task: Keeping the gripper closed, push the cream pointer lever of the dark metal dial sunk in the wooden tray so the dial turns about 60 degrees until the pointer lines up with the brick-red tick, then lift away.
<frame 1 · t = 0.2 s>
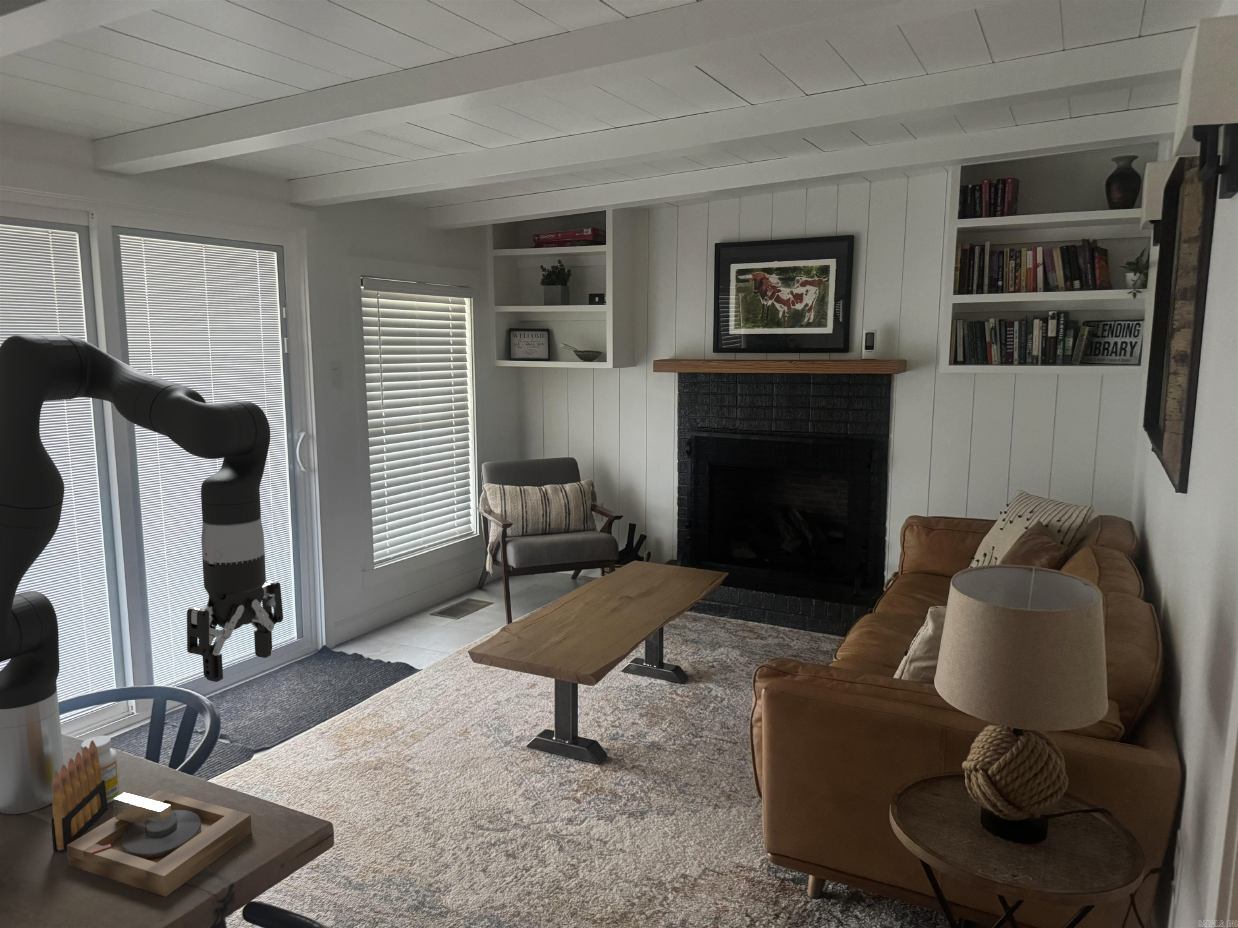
hand: (239, 667, 111), 29 cm above the table, tool pointing down, fingers open, 8 cm apart
supplement bottle: (101, 799, 130), on the table
ammunition clip: (81, 830, 122), on the table
dial: (153, 819, 118), point 4 cm above the table, hinge at 0.0°
wooden tray: (163, 848, 118), on the table
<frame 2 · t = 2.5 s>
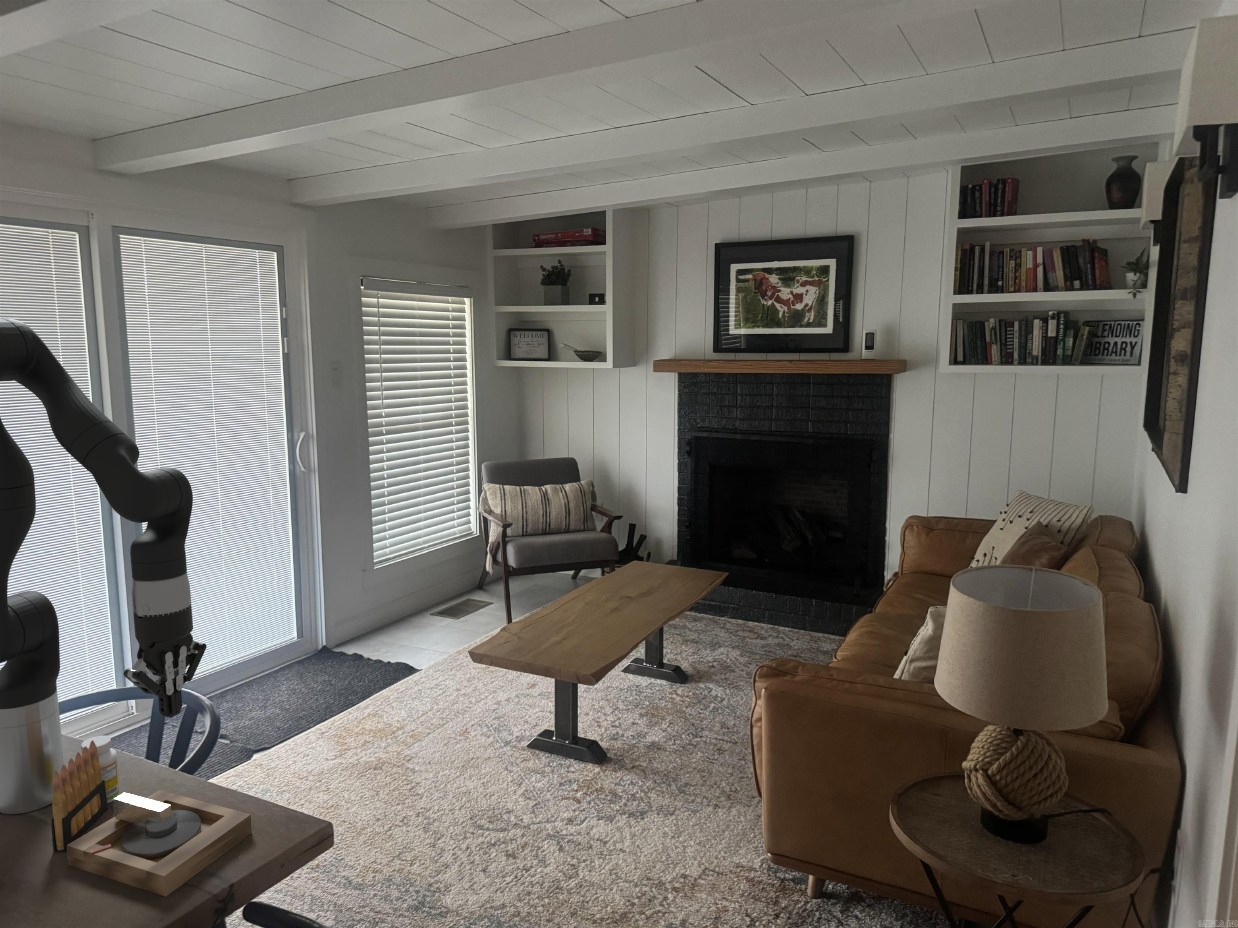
hand: (171, 714, 123), 17 cm above the table, tool pointing down, fingers closed
nothing on the table moved.
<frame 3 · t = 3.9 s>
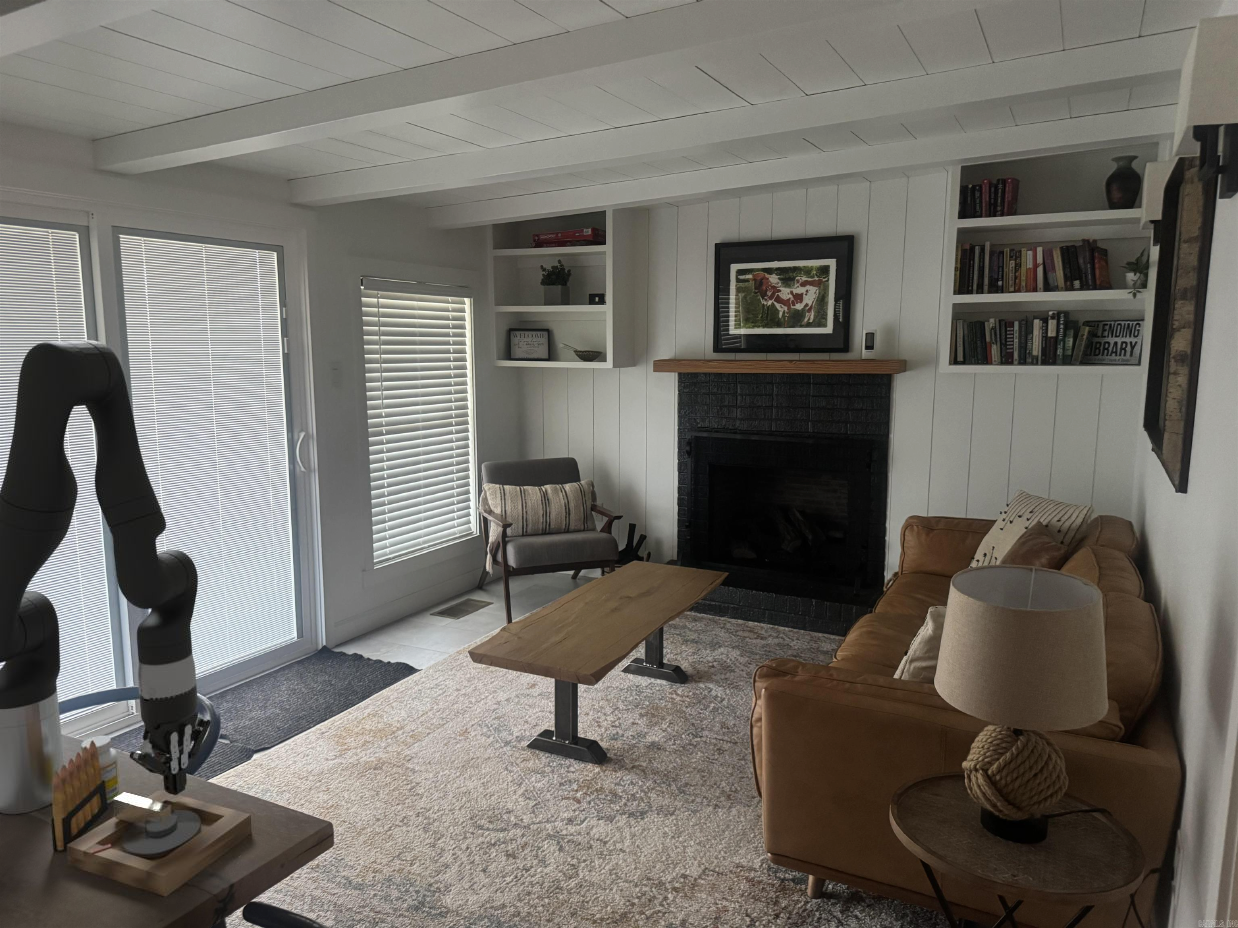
hand: (175, 791, 124), 4 cm above the table, tool pointing down, fingers closed
nothing on the table moved.
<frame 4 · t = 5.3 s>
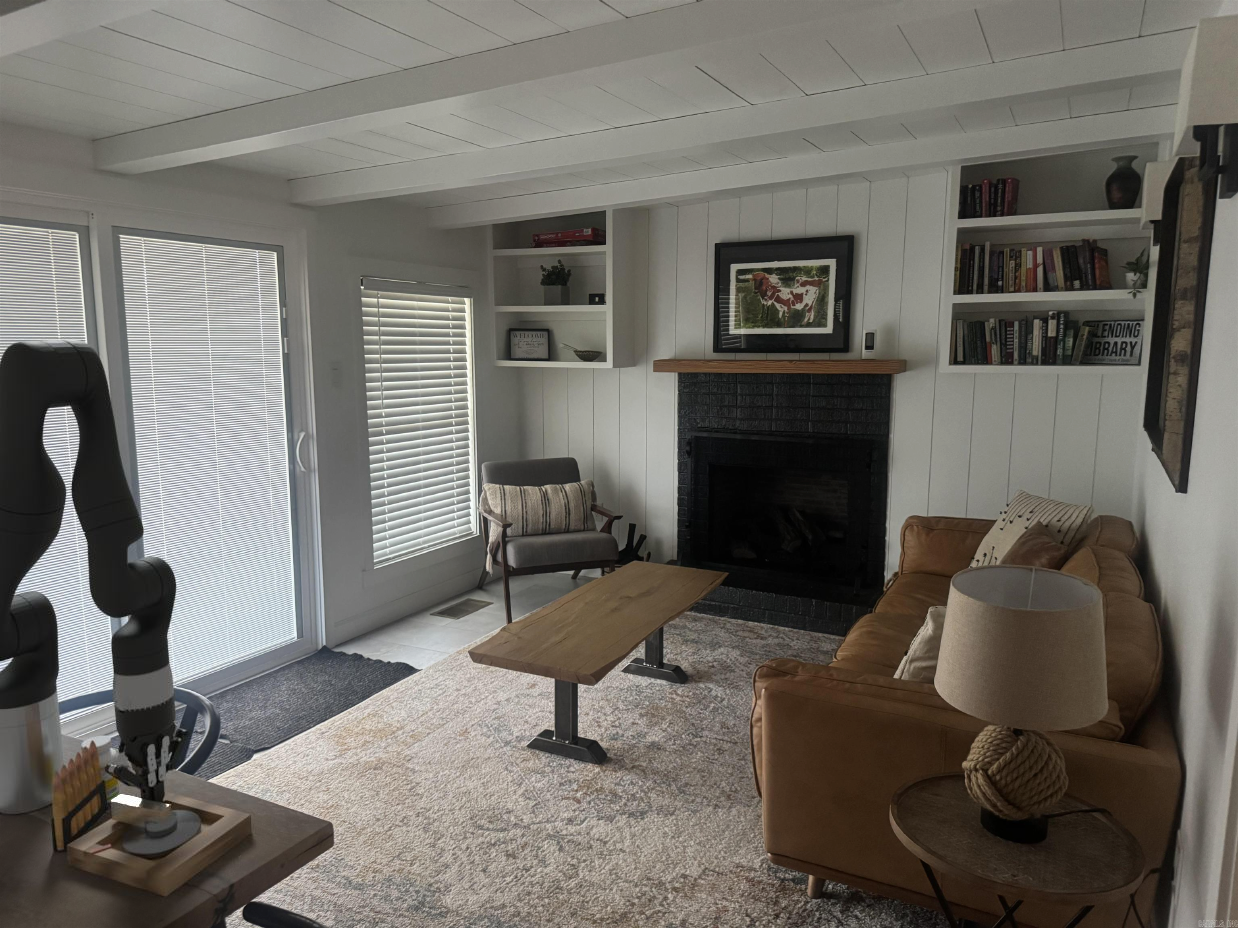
hand: (153, 804, 121), 4 cm above the table, tool pointing down, fingers closed
dial: (152, 820, 118), point 4 cm above the table, hinge at 3.7°, touching gripper
everything else where it was.
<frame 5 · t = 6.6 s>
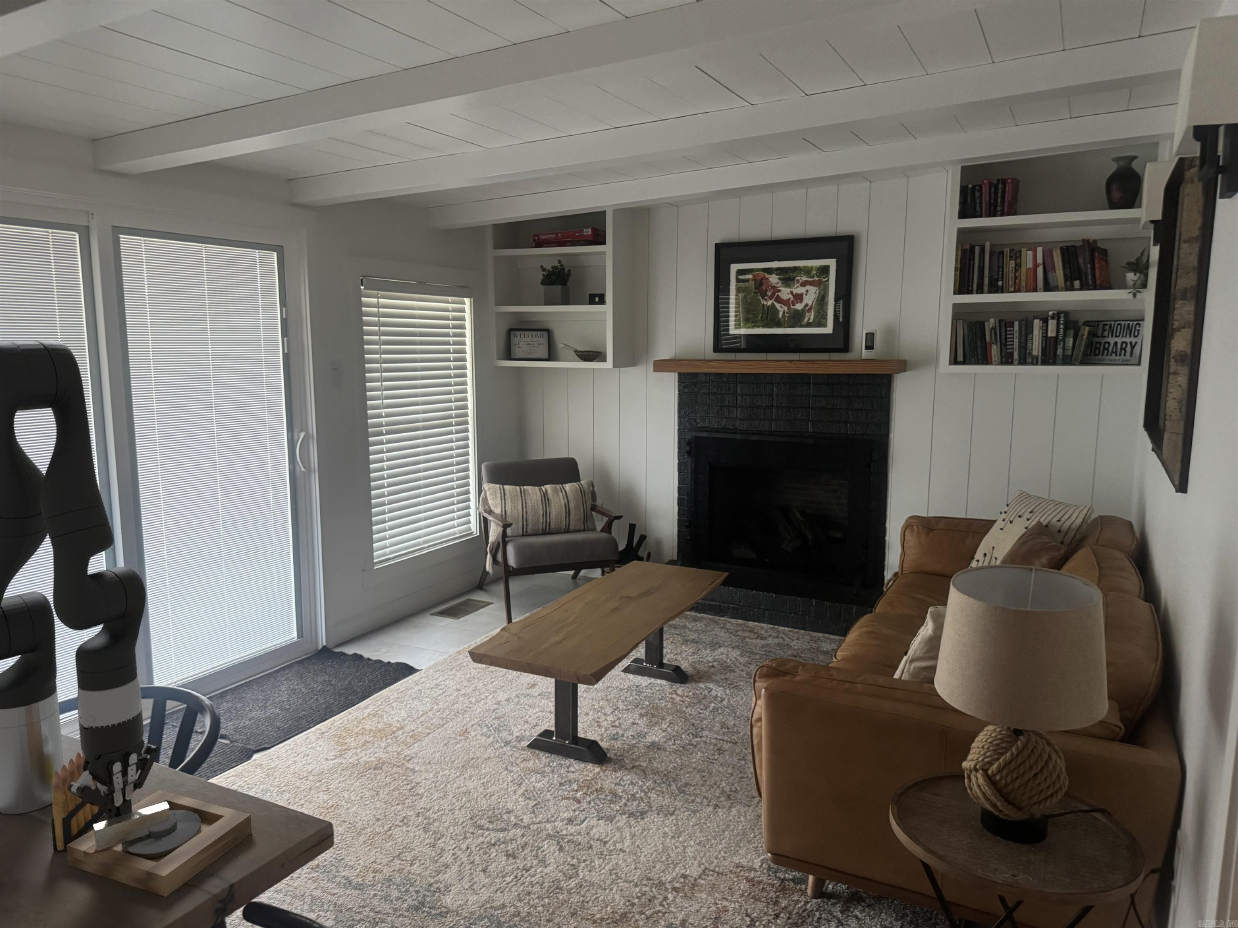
hand: (120, 824, 116), 4 cm above the table, tool pointing down, fingers closed
dial: (149, 825, 116), point 4 cm above the table, hinge at 59.9°, touching gripper
everything else where it was.
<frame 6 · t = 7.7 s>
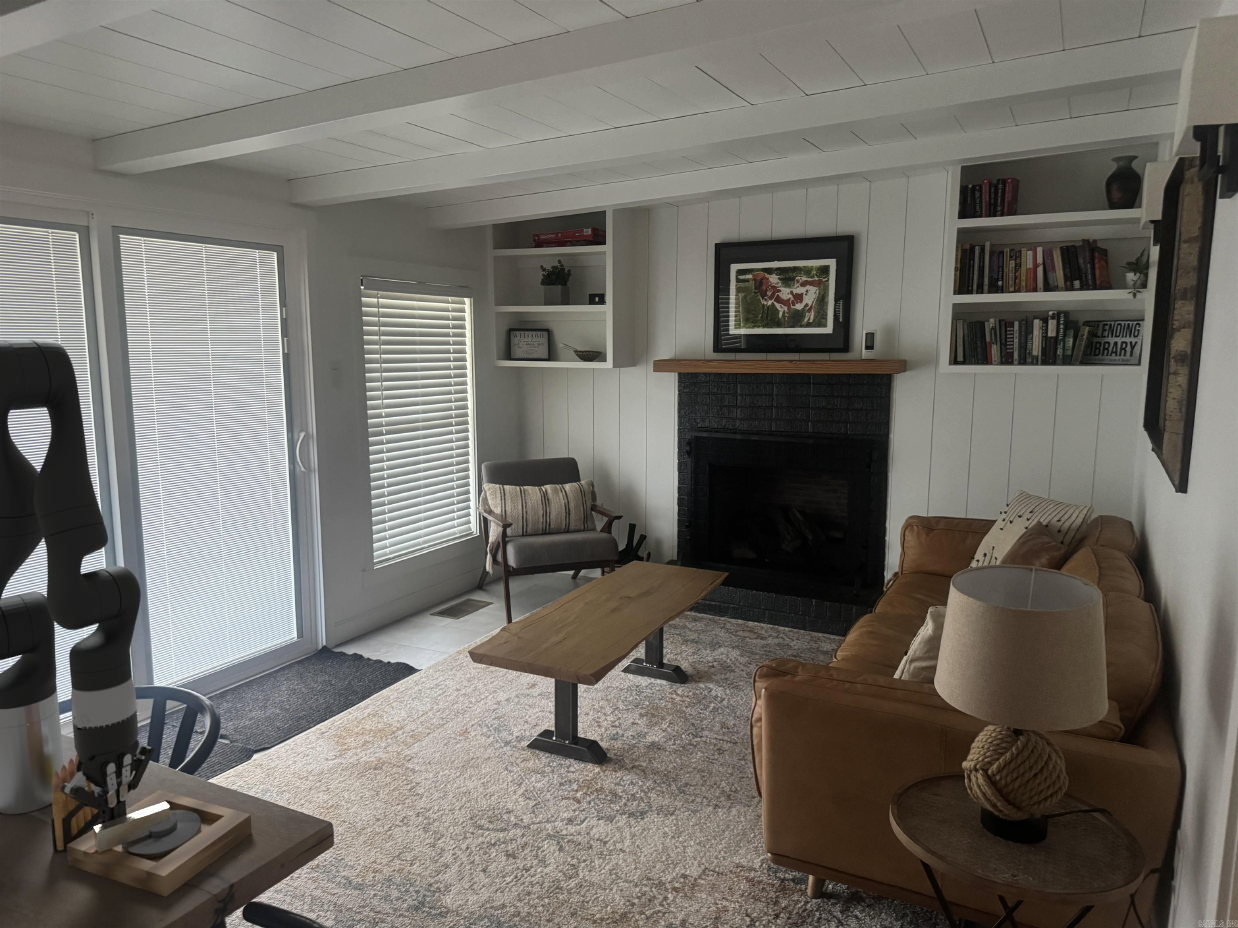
hand: (114, 825, 115), 5 cm above the table, tool pointing down, fingers closed
dial: (149, 826, 116), point 4 cm above the table, hinge at 63.7°
everything else where it was.
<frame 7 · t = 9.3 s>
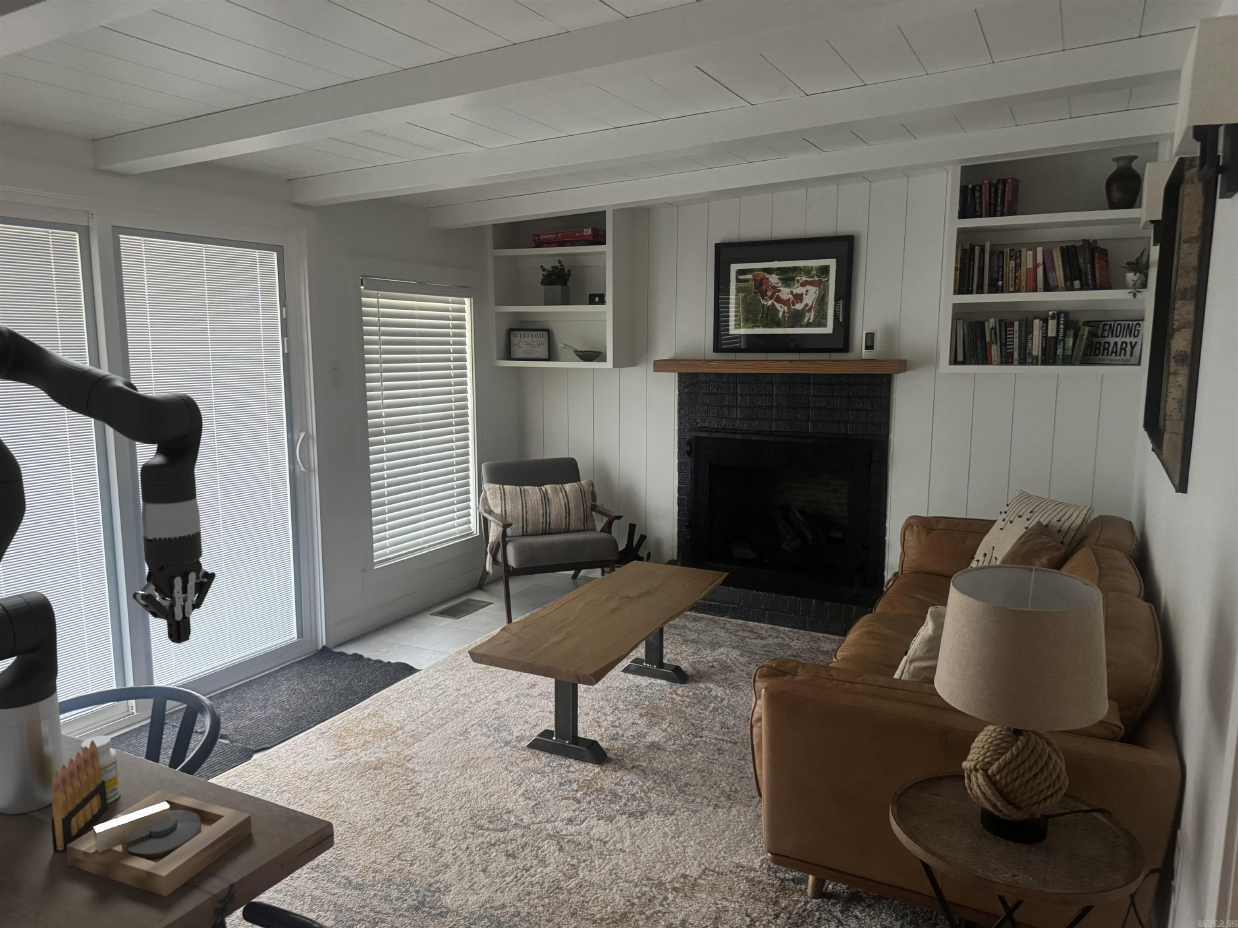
hand: (179, 641, 123), 28 cm above the table, tool pointing down, fingers closed
nothing on the table moved.
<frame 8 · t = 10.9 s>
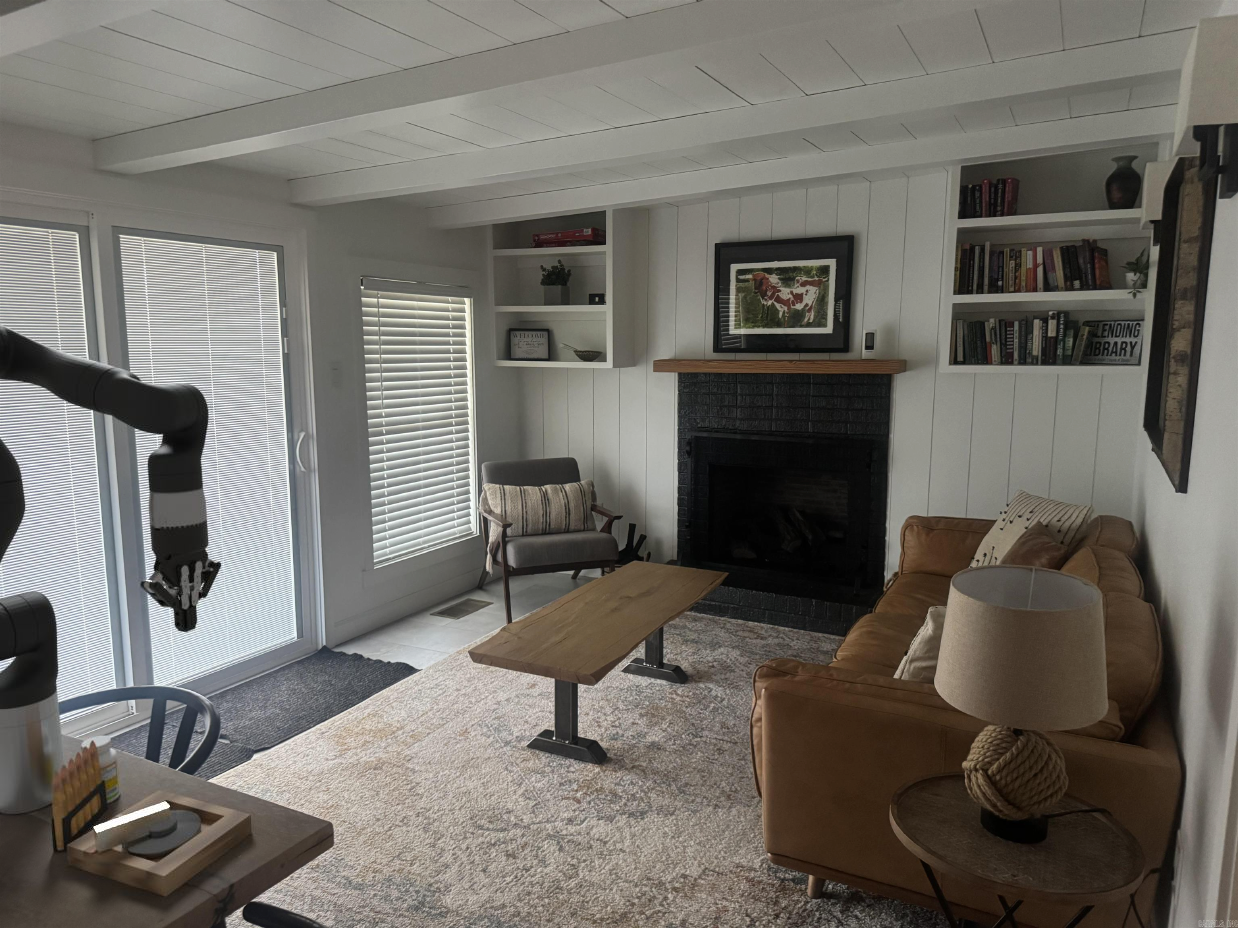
hand: (186, 629, 124), 29 cm above the table, tool pointing down, fingers closed
nothing on the table moved.
at the end: dial at +64° (first picture: +0°) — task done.
